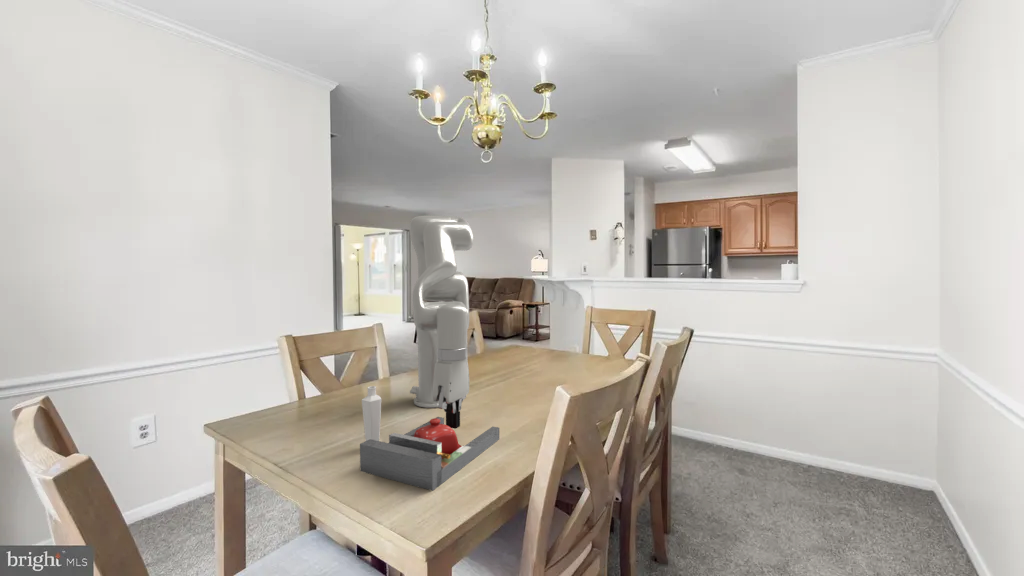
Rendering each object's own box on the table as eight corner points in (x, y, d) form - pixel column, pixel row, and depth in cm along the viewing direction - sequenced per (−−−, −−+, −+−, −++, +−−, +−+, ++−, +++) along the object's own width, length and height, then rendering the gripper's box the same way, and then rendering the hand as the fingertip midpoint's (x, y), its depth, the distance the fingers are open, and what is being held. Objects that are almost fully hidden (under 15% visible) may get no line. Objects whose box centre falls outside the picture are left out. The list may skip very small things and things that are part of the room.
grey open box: (360, 471, 95) (359, 444, 94) (438, 427, 120) (437, 405, 120) (432, 490, 86) (432, 460, 86) (499, 439, 112) (499, 416, 112)
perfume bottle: (377, 442, 110) (375, 383, 109) (385, 447, 107) (384, 387, 106) (359, 447, 107) (358, 387, 106) (367, 453, 104) (366, 390, 103)
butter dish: (403, 451, 105) (402, 416, 105) (447, 440, 112) (446, 407, 111) (422, 469, 96) (421, 431, 95) (468, 456, 102) (468, 421, 102)
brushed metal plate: (389, 461, 98) (389, 435, 98) (394, 458, 100) (394, 432, 100) (447, 475, 92) (446, 447, 91) (451, 472, 93) (451, 444, 93)
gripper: (456, 347, 117) (456, 415, 118) (421, 358, 104) (422, 434, 105) (480, 350, 114) (481, 419, 115) (447, 361, 100) (448, 440, 101)
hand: (453, 426), depth 110 cm, fingers closed
